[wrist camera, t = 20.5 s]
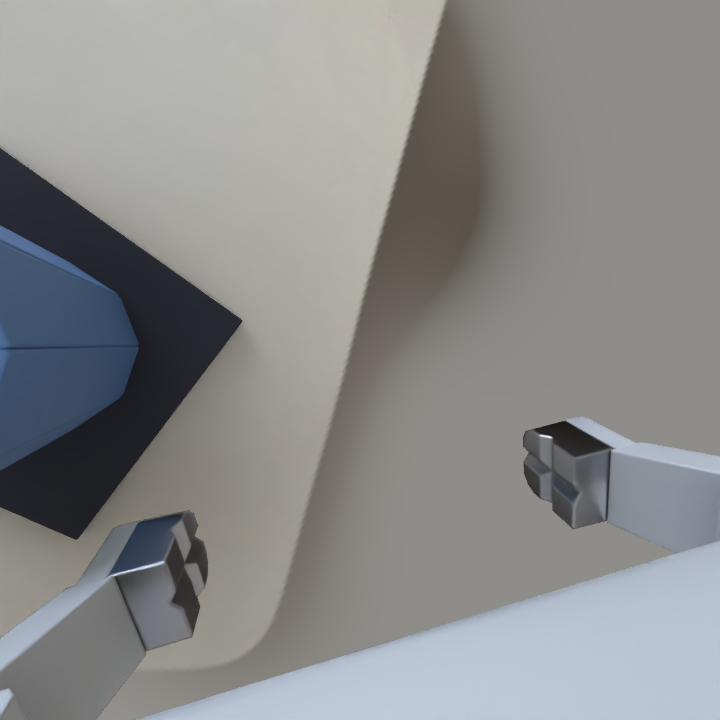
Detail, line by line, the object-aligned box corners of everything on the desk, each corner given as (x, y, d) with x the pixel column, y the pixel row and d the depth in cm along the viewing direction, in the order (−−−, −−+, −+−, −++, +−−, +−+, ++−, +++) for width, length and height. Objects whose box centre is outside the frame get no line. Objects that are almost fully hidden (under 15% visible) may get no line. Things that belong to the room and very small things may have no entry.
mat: (81, 534, 14) (76, 540, 13) (-255, 386, 11) (-277, 388, 10) (242, 321, 16) (243, 320, 15) (-10, 142, 13) (-19, 134, 12)
